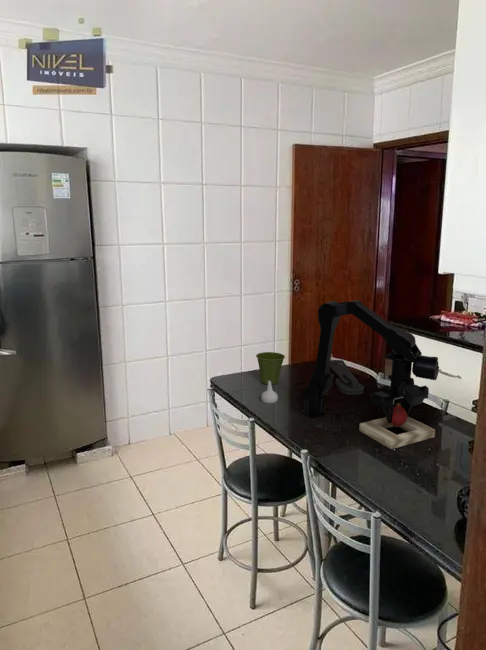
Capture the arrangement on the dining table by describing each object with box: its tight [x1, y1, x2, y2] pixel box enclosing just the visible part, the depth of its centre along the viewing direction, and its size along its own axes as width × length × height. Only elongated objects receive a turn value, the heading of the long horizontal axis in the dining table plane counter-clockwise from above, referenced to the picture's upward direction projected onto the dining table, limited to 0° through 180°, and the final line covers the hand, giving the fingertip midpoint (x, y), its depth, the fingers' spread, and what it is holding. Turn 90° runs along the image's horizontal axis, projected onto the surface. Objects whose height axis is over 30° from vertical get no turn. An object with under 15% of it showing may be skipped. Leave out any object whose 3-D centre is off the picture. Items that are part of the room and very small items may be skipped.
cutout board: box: [358, 416, 436, 450], centre depth 151 cm, size 18×14×2 cm
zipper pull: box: [329, 359, 365, 396], centre depth 196 cm, size 9×7×25 cm
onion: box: [391, 402, 407, 428], centre depth 150 cm, size 6×6×8 cm
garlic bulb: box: [260, 381, 279, 405], centre depth 178 cm, size 6×6×8 cm
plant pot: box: [255, 351, 286, 385], centre depth 198 cm, size 12×12×11 cm
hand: (397, 421), depth 151 cm, fingers closed on onion, 6 cm apart
